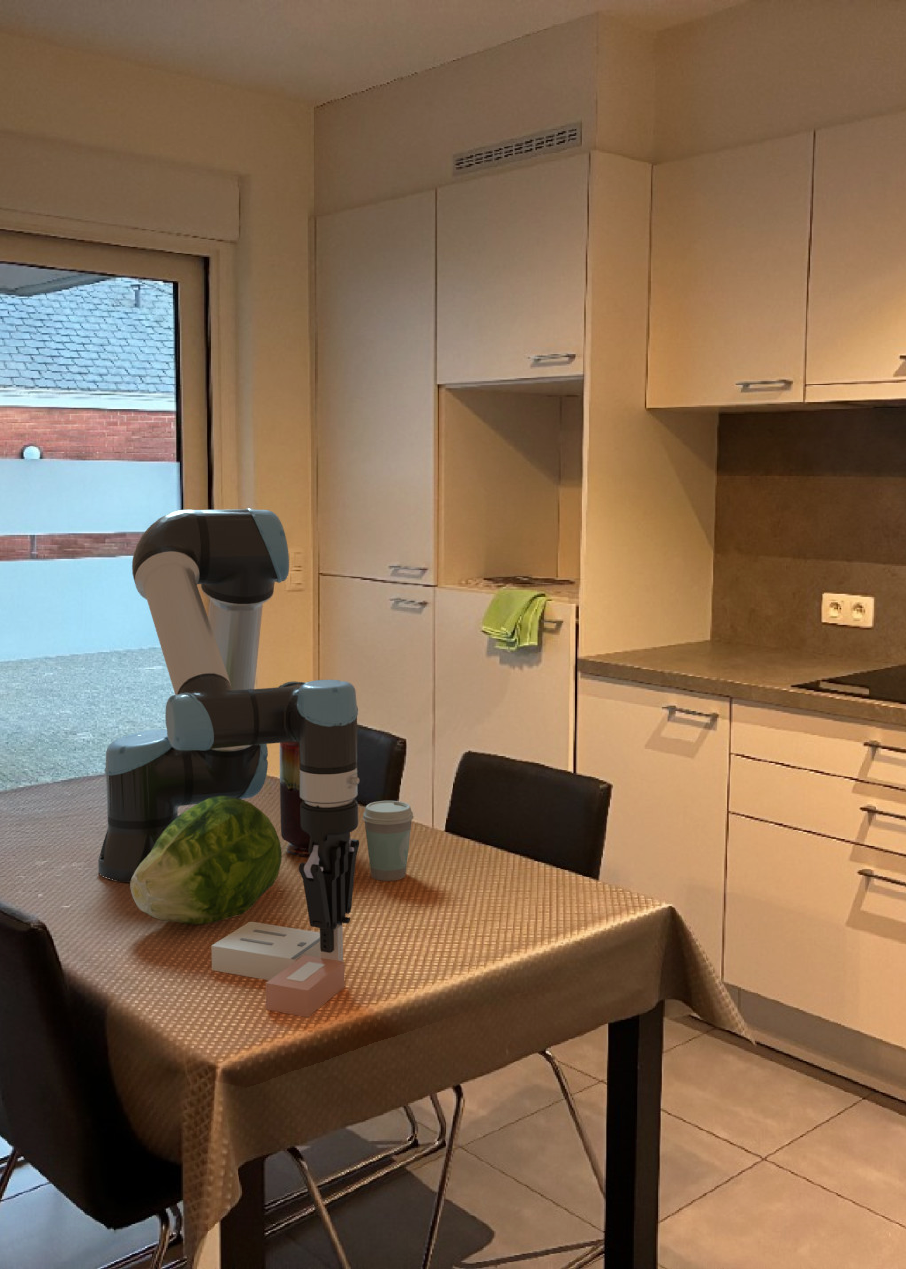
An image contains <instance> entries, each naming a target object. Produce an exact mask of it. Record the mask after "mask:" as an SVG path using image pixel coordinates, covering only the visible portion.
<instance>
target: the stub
mask: <svg viewBox="0 0 906 1269" xmlns="http://www.w3.org/2000/svg"><path fill="white" fill-rule="evenodd" d="M343 989H345V961H344V960H343V961H337V960H331V959H325V958H319V957H313V956H307V955H303V956H302V957H301V958H299V959H298V960H297V961H295V962H294V963H292V964H291V965H290V966H288V967H287V968H286V969H284V970H283V971H281V972H280V973H279V974H277V975H276V976H275V977H273V978H272V979H270V980H267V981H266V982H265V1010H266V1011H267V1010H268V1011H271V1012H272V1011H273V1012H277V1013H283V1014H289V1015H294V1016H298V1017H299V1016H301V1017H305V1018H309V1017H310V1016H311V1015H313V1014H314V1013H315V1012H316V1011H318V1010H319V1008H321V1007H322V1006H324V1005H325V1004H326V1003H327V1002H328V1001H329V1000H331V999H332V998H333V997H334V996H336V995H337V994H338V993H339V992H341V991H342V990H343Z"/></svg>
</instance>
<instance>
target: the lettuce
mask: <svg viewBox="0 0 906 1269" xmlns="http://www.w3.org/2000/svg"><path fill="white" fill-rule="evenodd" d="M282 852H283V851H282V846H281V841H280V838H279V836H278V833H277V831H276V828H275V826H274V824H273V822H272V821H271V820H270V817H268V816H267V815H266V814H265V813H264V812H263V811H262V810H261V809H259V808H258V807H257V806H255V805H254V804H252V803H251V802H250V801H247V800H245V799H238V798H233V797H228V796H218V797H211V798H208V799H206V800H204V801H202V802H200V803H198V804H194V805H193V806H191V807H190V808H188V809H187V810H185V811H184V812H182V813H181V814H178V817H177V818H176V819H174V820H173V821H172V822H171V823H170V824H169V825H168V827H167V828H166V829H165V830H164V831H163V833H162V834H161V835H160V837H159V838H158V840H157V841H156V843H155V845H154V846H153V848H152V850H151V852H150V853H149V855H148V856H147V857H146V858H145V859H144V860H143V861H142V862H141V863H140V865H139V866H138V868H137V869H136V871H135V873H134V875H133V876H132V878H131V881H130V882H129V888H130V893H131V896H132V898H133V901H134V903H135V904H136V906H137V908H138V909H139V910H140V911H141V912H142V913H145V914H146V915H149V916H150V917H152V918H154V919H157V920H160V921H165V922H166V921H167V922H176V923H180V924H185V925H194V926H200V925H201V926H202V925H206V924H213V923H216V922H217V923H218V922H219V921H222V920H226V919H230V918H233V917H237V916H241V915H243V914H244V913H246V911H248V910H249V909H250V908H251V907H253V905H254V904H256V902H257V901H258V900H259V899H260V897H261V896H262V895H263V894H265V893H266V891H268V890H269V889H270V888H271V887H272V886H273V885H274V883H275V882H276V879H277V878H278V876H279V872H280V868H281V865H282V855H283V853H282Z"/></svg>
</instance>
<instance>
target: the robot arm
mask: <svg viewBox="0 0 906 1269" xmlns="http://www.w3.org/2000/svg"><path fill="white" fill-rule="evenodd" d="M279 518H280V517H279V516H278V515H277V514H276V513H274V512H273V511H271V510H269V509H253V508H249V507H247V508H246V509H244V508H243V509H179V510H176V511H175V510H174V511H172V512H169V513H167V514H165V515H163V516H161V517H160V518H158V519H157V520H155V522H153V523H152V524H151V525H150V526H149V527H148V528H147V529H146V530H145V531H144V532H143V534H142V535H141V537H140V538H139V541H138V542H137V544H136V547H135V549H134V553H133V556H132V561H131V567H132V568H131V571H132V572H131V573H132V577H133V581H134V585H135V588H136V590H137V592H138V593H139V595H140V596H141V597H142V598H143V599H145V600H146V601H147V604H148V607H149V610H150V615H151V618H152V621H153V626H154V628H155V632H156V635H157V638H158V641H159V644H160V649H161V651H162V656H163V659H164V661H165V665H166V668H167V671H168V672H167V673H168V674H169V675H168V676H169V679H170V681H171V685H172V689H173V691H174V694H173V695H171V696H169V697H168V699H167V700H166V705H165V711H164V712H165V713H164V714H165V726H166V727H165V728H166V729H164V728H163V729H148V730H141V731H138V732H134V733H133V732H132V733H130V734H126V735H124V736H120V737H118V738H116V739H115V740H113V741H112V742H110V744H109V745H108V747H107V748H106V753H105V767H104V774H105V779H106V784H105V785H106V806H107V807H106V811H107V828H106V833H105V837H104V839H103V843H102V845H101V849H100V853H99V856H98V863H97V864H98V865H97V867H98V874H99V873H100V874H101V875H102V876H104V877H107V878H110V879H113V880H117V881H116V882H119V881H122V882H121V883H130V881H131V878H132V876H133V875H134V873H135V871H136V869H137V868H138V866H139V865H140V863H141V862H142V861H143V860H144V859H145V858H146V857H147V856H148V855H149V853H150V852H151V850H152V848H153V846H154V845H155V843H156V841H157V840H158V838H159V837H160V835H161V834H162V833H163V831H164V830H165V829H166V828H167V827H168V825H169V824H170V823H171V822H172V821H173V820H174V819H176V818H177V817H178V816H179V814H178V810H179V807H183V806H192V805H193V806H195V805H196V804H198V803H200V802H202V801H204V800H206V799H208V798H211V797H218V796H228V797H233V798H238V799H242V800H245V799H251V798H253V797H255V796H257V795H258V794H259V793H260V792H261V790H262V788H263V787H264V784H265V782H266V779H267V778H266V777H267V773H268V767H269V762H268V756H269V752H268V745H269V744H270V745H271V744H280V743H283V742H298V743H299V757H300V798H302V799H303V801H302V803H301V804H300V818H301V828H302V830H303V831H305V832H307V833H308V834H309V835H310V844H309V854H310V857H308V860H307V861H306V862H300V863H299V866H298V872H299V874H300V876H301V878H302V882H303V888H304V896H305V902H306V908H307V915H308V920H309V926H310V928H311V927H312V928H318V929H319V932H320V958H325V959H331V960H337V961H343V962H344V939H343V938H344V937H343V936H344V934H343V933H344V930H343V927H344V926H343V924H346V925H347V924H349V923H350V922H351V917H348V916H346V914H350V913H351V911H352V904H353V895H354V894H353V893H354V883H355V874H356V872H355V871H356V865H357V864H356V861H357V855H358V853H359V852H358V851H359V847H360V840H359V839H354V838H351V832H355V830H356V829H357V828H358V826H359V802H358V801H357V800H356V797H358V785H359V784H360V778H359V777H358V714H359V707H358V704H357V703H358V702H357V693H356V692H357V691H356V688H355V686H354V685H353V684H352V683H351V682H348V681H346V680H342V681H341V680H339V679H316V680H311V681H307V682H304V681H303V682H302V681H296V680H295V681H292V680H291V681H287V682H285V683H283V684H280V685H279V686H277V687H266V688H264V687H263V688H255V687H256V679H257V678H256V677H257V666H258V656H259V647H260V646H259V645H260V637H261V636H260V635H261V626H262V625H261V624H262V615H263V607H264V606H263V605H264V603H266V602H268V601H269V600H271V598H272V597H273V595H274V591H275V590H274V588H275V583H277V584H279V583H280V584H281V583H282V582H284V581H286V580H287V579H288V576H289V572H290V557H289V556H290V555H289V547H288V540H287V537H286V532H285V530H284V529H285V528H284V526H283V524H282V522H281V519H279ZM198 585H200V589H201V591H202V593H203V594H204V595H205V596H206V597H207V598H208V599H209V605H208V613H207V611H206V608H205V604H204V603H203V599H202V596H201V593H200V590H199V588H198ZM207 614H208V615H207ZM100 874H99V875H100ZM101 875H100V876H101ZM102 876H101V877H102ZM104 877H103V878H104ZM113 880H112V881H113Z"/></svg>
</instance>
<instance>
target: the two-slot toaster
mask: <svg viewBox="0 0 906 1269" xmlns="http://www.w3.org/2000/svg"><path fill="white" fill-rule="evenodd" d="M210 947H211V948H210V949H211V971H215V972H221V973H224V974H225V973H227V974H231V975H237V976H242V977H248V978H249V977H250V978H253V979H254V978H255V979H259V980H266V981H269V980H270V979H272V978H273V977H275V976H276V975H277V974H279V973H280V972H281V971H283V970H284V969H286V968H287V967H288V966H290V965H291V964H292V963H294V962H295V961H297V960H298V959H299V958H301V957H302V956H303V955H307V956H313V957H319V958H320V931H313V930H306V929H301V928H293V927H287V926H280V925H275V924H270V923H263V922H255V921H249V922H247V923H246V924H244V925H242V926H241V927H239V928H237V929H236V930H234V931H233V932H231V933H230V934H228V935H226V936H225V937H222V938H221V939H220V940H218V941H216V942H215V943H214V944H212V945H211V946H210Z"/></svg>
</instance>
